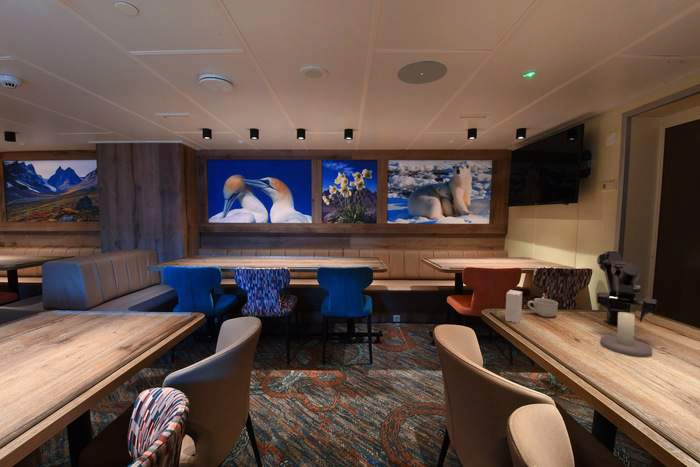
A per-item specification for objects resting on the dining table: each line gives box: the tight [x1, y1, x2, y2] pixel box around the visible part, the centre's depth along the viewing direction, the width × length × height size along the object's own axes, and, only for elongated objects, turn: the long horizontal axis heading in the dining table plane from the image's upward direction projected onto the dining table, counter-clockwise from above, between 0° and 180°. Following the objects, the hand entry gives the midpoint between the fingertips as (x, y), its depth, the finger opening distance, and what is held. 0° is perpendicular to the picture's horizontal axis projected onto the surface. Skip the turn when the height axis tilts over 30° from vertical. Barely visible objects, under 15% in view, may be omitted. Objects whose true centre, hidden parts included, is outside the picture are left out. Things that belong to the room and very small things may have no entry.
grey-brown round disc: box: [599, 335, 653, 358], centre depth 115 cm, size 15×15×2 cm
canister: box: [616, 312, 636, 346], centre depth 115 cm, size 5×5×12 cm
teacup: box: [526, 297, 559, 318], centre depth 154 cm, size 14×11×8 cm
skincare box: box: [504, 289, 523, 324], centre depth 147 cm, size 8×6×15 cm
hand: (625, 318), depth 120 cm, fingers open, 9 cm apart
